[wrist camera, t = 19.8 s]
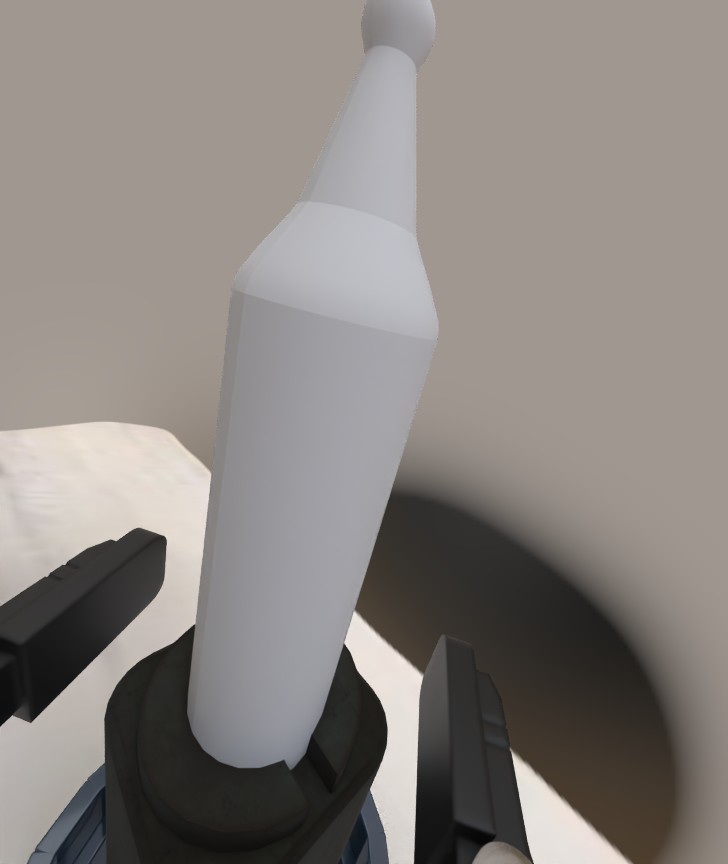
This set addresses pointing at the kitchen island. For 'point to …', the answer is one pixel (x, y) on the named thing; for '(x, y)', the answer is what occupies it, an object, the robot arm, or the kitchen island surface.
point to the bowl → (86, 831)
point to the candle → (292, 510)
